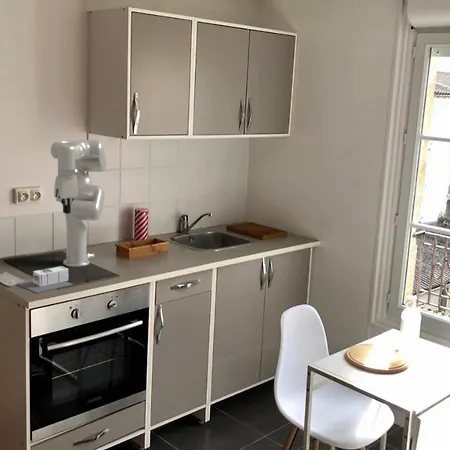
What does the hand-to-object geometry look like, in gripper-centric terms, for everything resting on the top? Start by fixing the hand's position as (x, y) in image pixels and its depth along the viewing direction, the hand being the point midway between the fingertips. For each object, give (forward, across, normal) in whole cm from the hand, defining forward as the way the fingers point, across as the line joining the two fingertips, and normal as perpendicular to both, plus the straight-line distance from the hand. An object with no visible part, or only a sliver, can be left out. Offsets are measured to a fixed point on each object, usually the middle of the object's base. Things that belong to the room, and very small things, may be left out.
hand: (66, 213), depth 280 cm
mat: (+29, +16, +4) cm, 33 cm away
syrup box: (+26, +5, +5) cm, 27 cm away
